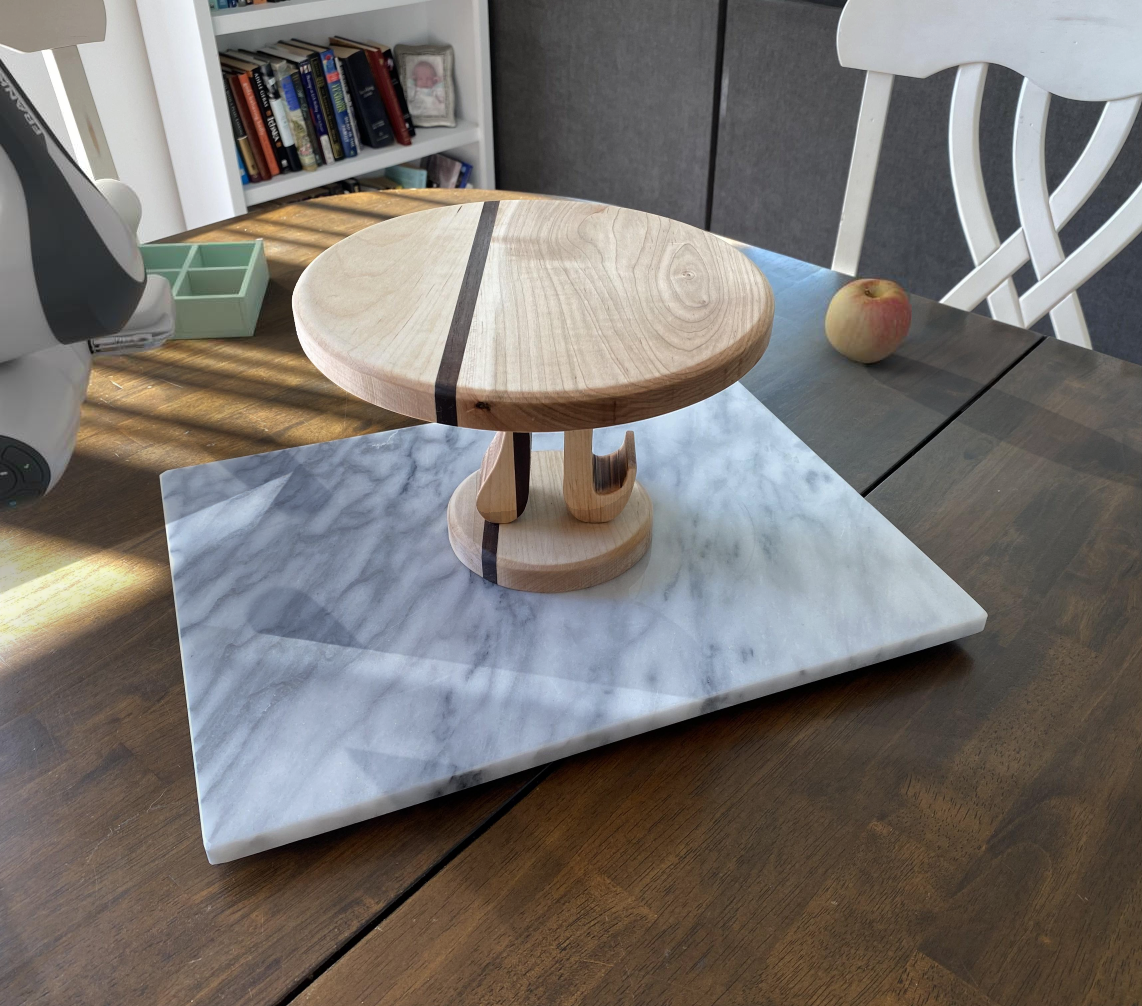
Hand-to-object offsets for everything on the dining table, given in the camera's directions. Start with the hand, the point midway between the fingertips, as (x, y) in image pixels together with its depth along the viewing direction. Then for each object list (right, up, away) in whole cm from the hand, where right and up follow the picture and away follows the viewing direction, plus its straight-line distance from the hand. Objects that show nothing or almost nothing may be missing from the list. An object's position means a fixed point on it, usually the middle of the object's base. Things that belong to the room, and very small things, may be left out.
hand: (51, 279), depth 80 cm
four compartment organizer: (+1, +3, +28) cm, 29 cm away
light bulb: (-11, +10, +37) cm, 39 cm away
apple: (+76, -3, +23) cm, 80 cm away
